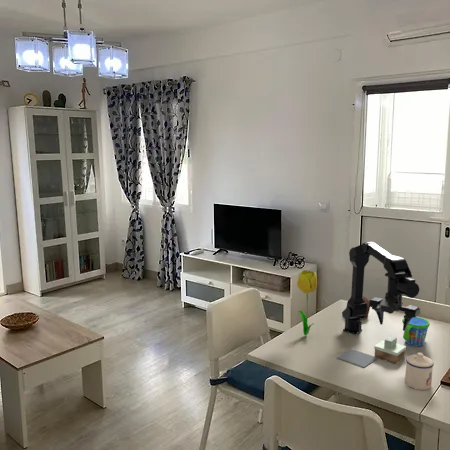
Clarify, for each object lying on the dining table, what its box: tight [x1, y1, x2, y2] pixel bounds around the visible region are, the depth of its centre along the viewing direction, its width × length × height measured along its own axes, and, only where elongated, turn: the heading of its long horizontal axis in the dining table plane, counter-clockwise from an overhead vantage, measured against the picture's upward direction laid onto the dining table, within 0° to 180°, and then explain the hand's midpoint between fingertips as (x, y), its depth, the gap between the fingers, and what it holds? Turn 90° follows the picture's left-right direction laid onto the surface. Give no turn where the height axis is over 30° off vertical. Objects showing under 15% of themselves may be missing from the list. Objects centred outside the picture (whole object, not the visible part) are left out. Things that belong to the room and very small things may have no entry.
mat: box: [336, 348, 379, 369], centre depth 184 cm, size 12×11×1 cm
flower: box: [296, 269, 318, 336], centre depth 203 cm, size 9×8×30 cm
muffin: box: [361, 295, 371, 320], centre depth 229 cm, size 12×11×10 cm
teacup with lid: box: [404, 352, 435, 391], centre depth 165 cm, size 12×9×12 cm
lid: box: [373, 335, 407, 356], centre depth 184 cm, size 9×8×4 cm
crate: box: [374, 349, 406, 365], centre depth 185 cm, size 9×8×4 cm
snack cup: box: [402, 316, 430, 347], centre depth 197 cm, size 16×10×10 cm
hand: (392, 327), depth 183 cm, fingers open, 9 cm apart
